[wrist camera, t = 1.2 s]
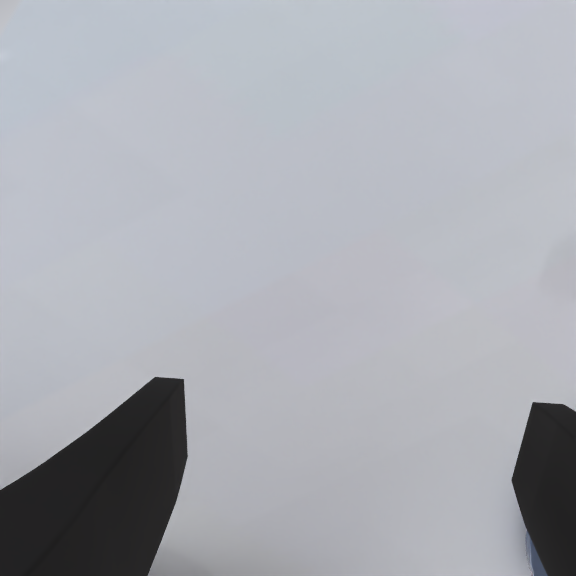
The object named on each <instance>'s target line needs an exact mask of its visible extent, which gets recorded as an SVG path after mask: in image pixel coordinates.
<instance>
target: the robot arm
mask: <svg viewBox="0 0 576 576" xmlns="http://www.w3.org/2000/svg"><path fill="white" fill-rule="evenodd" d="M187 457H188V455H187V435H186V414H185V394H184V379H175V378H160V377H155V378H154V379H152V380H151V381H150V382H148V383H147V384H146V385H145V386H143V387H142V388H141V389H140V390H139V391H137V392H136V393H135V394H134V395H132V396H131V397H130V398H129V399H128V400H126V401H125V402H124V403H123V404H121V405H120V406H119V407H118V408H117V409H115V410H114V411H113V412H112V413H110V414H109V415H108V416H107V417H105V418H104V419H103V420H101V421H100V422H99V423H98V424H96V425H95V426H94V427H93V428H91V429H90V430H89V431H87V432H86V433H85V434H83V435H82V436H81V437H79V438H78V439H76V440H75V441H74V442H72V443H71V444H69V445H68V446H67V447H65V448H64V449H62V450H61V451H60V452H58V453H57V454H55V455H54V456H53V457H51V458H50V459H48V460H47V461H46V462H44V463H43V464H41V465H40V466H38V467H37V468H35V469H34V470H32V471H31V472H29V473H27V474H26V475H24V476H23V477H21V478H20V479H18V480H16V481H15V482H13V483H11V484H10V485H8V486H6V487H5V488H3V489H1V490H0V576H148V573H149V571H150V568H151V565H152V563H153V560H154V558H155V555H156V553H157V550H158V548H159V545H160V542H161V540H162V537H163V535H164V532H165V529H166V527H167V524H168V522H169V519H170V516H171V514H172V511H173V509H174V506H175V503H176V500H177V496H178V493H179V489H180V485H181V481H182V477H183V473H184V469H185V465H186V461H187ZM512 483H513V487H514V490H515V494H516V497H517V501H518V504H519V507H520V511H521V514H522V517H523V520H524V523H525V526H526V529H527V531H528V533H529V536H530V538H531V540H532V543H533V545H534V547H535V549H536V551H537V554H538V556H539V558H540V560H541V563H542V565H543V567H544V569H545V571H546V574H547V576H576V412H575V411H574V410H572V409H570V408H569V407H567V406H565V405H564V404H551V403H536V402H533V403H532V407H531V411H530V414H529V418H528V422H527V425H526V429H525V433H524V436H523V440H522V444H521V447H520V451H519V455H518V458H517V462H516V466H515V469H514V473H513V477H512Z"/></svg>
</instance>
